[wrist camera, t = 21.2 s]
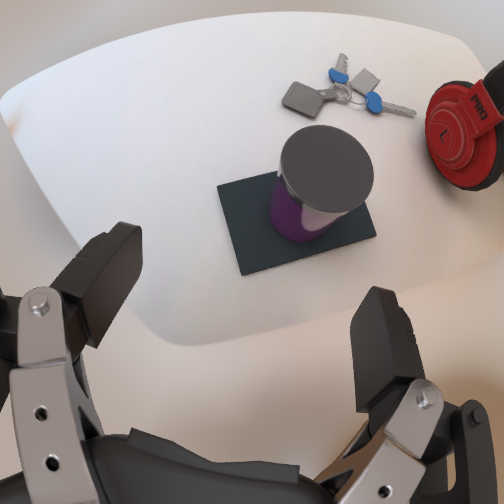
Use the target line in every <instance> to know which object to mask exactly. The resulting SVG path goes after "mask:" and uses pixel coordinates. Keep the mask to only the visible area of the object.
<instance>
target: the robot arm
mask: <svg viewBox="0 0 504 504" xmlns="http://www.w3.org/2000/svg"><path fill="white" fill-rule="evenodd" d="M142 264H143V257H142V229H141V227H140V226H137V225H133V224H129V223H125V222H118V223H117V224H116V225H115V226H114V227H113V228H112V230H111V231H110V232H109V233H105V232H103V233H101V234H99V235H97V236H96V237H94V238H92V239H91V240H90V241H89V242H88V243H87V244H86V245H85V246H84V247H83V249H82V250H80V252H79V253H78V254H77V255H76V257H75V258H73V259H72V261H71V262H70V263H69V264H68V265H67V266H66V267H65V269H64V270H63V271H62V272H61V273H60V274H59V276H58V277H57V278H56V279H55V281H53V283H52V284H51V285H50V286H49V287H37V288H34V289H32V290H30V291H29V292H28V293H26V294H25V295H24V296H23V297H14V296H5V295H3V293H2V290H1V288H0V412H1V409H2V407H3V405H4V403H5V401H6V399H7V397H8V394H9V392H10V395H11V405H12V415H13V422H14V429H15V435H16V440H17V446H18V451H19V456H20V461H21V465H22V469H23V471H21V472H19V473H17V474H14V475H12V476H10V477H7V478H5V479H2V480H0V504H407V503H408V501H409V500H410V504H498V498H497V497H498V495H497V478H496V467H495V457H494V451H493V443H492V436H491V430H490V424H489V419H488V415H487V412H486V410H485V408H484V407H483V406H482V404H481V403H479V402H478V401H476V400H468V401H467V402H465V403H464V404H463V405H461V406H460V407H458V406H455V405H453V404H450V403H448V402H445V401H444V400H443V396H442V394H441V391H440V390H439V388H438V387H437V386H436V385H435V384H434V383H432V382H431V381H429V380H426V378H425V374H424V369H423V365H422V361H421V357H420V354H419V350H418V346H417V344H416V338H415V335H414V334H413V328H412V324H411V321H410V319H409V317H408V316H407V314H406V313H405V311H404V310H403V308H401V307H399V305H398V302H397V298H396V295H395V293H394V291H392V290H388V289H384V288H380V287H376V286H373V287H372V288H371V289H370V290H369V291H368V293H367V295H366V297H365V298H364V300H363V301H362V303H361V305H360V306H359V308H358V310H357V311H356V313H355V314H354V316H353V318H352V321H351V326H350V337H351V346H352V357H353V369H354V381H355V396H356V412H359V413H369V420H367V421H366V422H365V423H364V424H363V426H362V427H361V428H360V430H359V431H358V432H357V434H356V435H355V436H354V438H353V439H352V440H351V441H350V443H349V444H348V445H347V447H346V448H345V449H344V450H343V452H342V453H341V454H340V455H339V456H338V458H337V459H336V460H335V461H334V462H333V463H332V464H331V465H330V466H328V467H327V468H326V469H325V470H323V471H322V472H321V473H320V474H319V475H318V476H317V477H316V478H315V479H314V480H311V479H310V478H307V477H305V476H303V475H301V474H299V468H300V466H298V465H288V464H279V463H272V462H264V461H249V462H226V463H216V462H211V461H209V460H207V459H205V458H203V457H201V456H198V455H197V454H195V453H193V452H191V451H189V450H187V449H185V448H184V447H182V446H180V445H178V444H176V443H174V442H173V441H170V440H167V439H164V438H161V437H157V436H154V435H151V434H149V433H146V432H143V431H139V430H137V429H134V428H131V431H130V434H129V435H124V434H112V435H105V434H104V431H103V428H102V425H101V422H100V420H99V417H98V415H97V413H96V410H95V408H94V405H93V401H92V397H91V394H90V389H89V385H88V381H87V376H86V372H85V367H84V362H83V357H82V353H81V352H82V350H83V348H84V346H85V345H89V346H92V347H94V348H96V349H97V347H98V345H99V344H100V342H101V340H102V338H103V337H104V335H105V333H106V331H107V330H108V328H109V326H110V325H111V323H112V321H113V319H114V318H115V316H116V314H117V312H118V311H119V309H120V308H121V306H122V304H123V303H124V301H125V299H126V298H127V296H128V294H129V293H130V291H131V290H132V288H133V286H134V285H135V283H136V282H137V280H138V278H139V276H140V273H141V270H142ZM452 453H454V454H455V468H456V482H455V485H454V487H453V488H452V489H451V490H450V491H448V479H447V478H448V477H447V460H446V456H448V455H450V454H452Z"/></svg>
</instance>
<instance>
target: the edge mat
mask: <svg viewBox="0 0 504 504" xmlns="http://www.w3.org/2000/svg"><path fill="white" fill-rule="evenodd" d="M277 173H278V171H275V172H271V173H266V174H262V175H258V176H254V177H250V178H246V179H242V180H238V181H234V182H230V183H227V184H223V185H219V186H217V189H218V193H219V197H220V200H221V204H222V207H223V211H224V215H225V218H226V222H227V225H228V229H229V232H230V236H231V239H232V243H233V247H234V250H235V254H236V257H237V261H238V264H239V268H240V271H241V275H242V276H243V275H246V274H250V273H253V272H257V271H260V270H264V269H267V268H271V267H274V266H278V265H281V264H284V263H288V262H291V261H295V260H298V259H301V258H305V257H308V256H312V255H315V254H318V253H322V252H325V251H328V250H332V249H335V248H338V247H342V246H345V245H348V244H351V243H355V242H358V241H361V240H364V239H368V238H371V237H374V236H376V232H375V229H374V226H373V223H372V220H371V217H370V214H369V212H368V209H367V206H366V203H365V201H364V202H363V203H362V204H361V205H359V206H358V207H357V208H356V209H354V210H353V211H351V212H349V213H347V214H346V215H345V216H343V217H342V218H341V219H340V220H339V221H337V222H336V223H335V224H334V225H333V226H331V227H330V228H329V229H328V230H327V231H325V232H324V233H323V234H322V235H321V236H319V237H318V238H316V239H314V240H311V241H308V242H295V241H292V240H289V239H287V238H285V237H283V236H282V235H281V234H279V233H278V232H277V231H276V230H275V228H274V227H273V225H272V223H271V221H270V218H269V214H268V205H269V201H270V197H271V194H272V190H273V187H274V183H275V180H276V176H277Z"/></svg>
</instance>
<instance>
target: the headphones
mask: <svg viewBox="0 0 504 504" xmlns="http://www.w3.org/2000/svg"><path fill="white" fill-rule="evenodd" d="M425 134H426V139H427V145H428V148H429V151H430V154H431V156H432V158H433V160H434V162H435V164H436V166H437V168H438V170H439V171H440V172H441V174H442V175H443V176H444V178H446V179H447V180H448V181H449V182H450V183H451V184H452V185H454V186H456V187H458V188H460V189H462V190H469V191H479V190H482V189H486V188H488V187H489V186H491V185H492V184H493V183H495V182H496V181H497V180H498V179H499V177H500V176H501V174H502V172H503V171H504V60H503V61H502V62H501V63H499V64H498V65H497V66H496V67H494V68H493V69H492V70H491V71H490V72H489V73H488V74H487V75H486V76H485V78H484V80H482V79H480V80H479V81H478V82H477V83H475V84H472V83H470V82H466V81H451V82H448V83H445V84H443V85H442V86H441V87H440V88H439V89H437V90H436V91H435V93H434V95H433V96H432V98H431V99H430V102H429V105H428V108H427V112H426V119H425Z"/></svg>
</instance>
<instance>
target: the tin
mask: <svg viewBox="0 0 504 504" xmlns="http://www.w3.org/2000/svg"><path fill="white" fill-rule="evenodd" d="M373 180H374V173H373V166H372V163H371V160H370V157H369V155H368V153H367V152H366V150H365V149H364V147H363V146H362V145H361V144H360V143H359V142H358V141H357V140H356V139H355V138H354V137H353V136H351V135H350V134H348V133H347V132H345V131H343V130H341V129H338V128H335V127H332V126H326V125H313V126H308V127H305V128H302V129H300V130H298V131H297V132H295V133H294V134H293V135H291V136H290V138H289V139H288V140H287V141H286V143H285V145H284V147H283V149H282V152H281V156H280V160H279V170H278V173H277V176H276V180H275V183H274V187H273V190H272V194H271V197H270V201H269V205H268V214H269V218H270V221H271V223H272V225H273V227H274V228H275V230H276V231H277V232H278V233H279V234H281V235H282V236H283V237H285V238H287V239H289V240H292V241H295V242H308V241H311V240H314V239H316V238H318V237H319V236H321V235H322V234H323V233H324V232H325V231H327V230H328V229H329V228H330V227H331V226H333V225H334V224H335V223H336V222H337V221H339V220H340V219H341V218H342V217H343V216H345V215H346V214H347V213H349V212H351V211H353V210H354V209H356V208H357V207H358V206H359V205H361V204H362V203H363V202H364V201H365V200H366V198H367V197H368V196H369V194H370V192H371V189H372V186H373Z"/></svg>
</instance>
